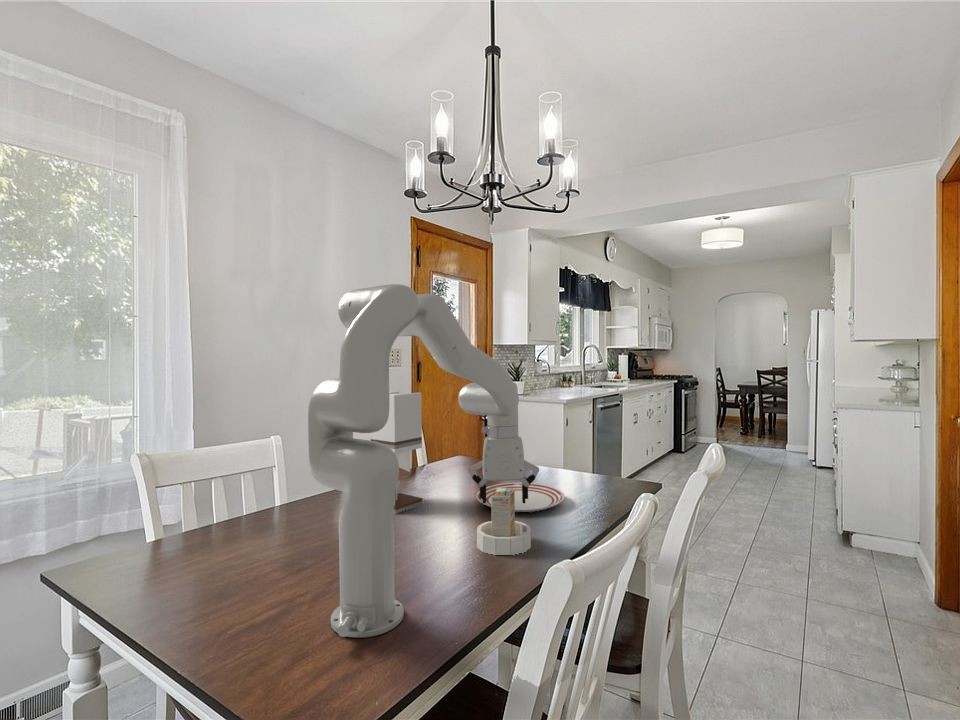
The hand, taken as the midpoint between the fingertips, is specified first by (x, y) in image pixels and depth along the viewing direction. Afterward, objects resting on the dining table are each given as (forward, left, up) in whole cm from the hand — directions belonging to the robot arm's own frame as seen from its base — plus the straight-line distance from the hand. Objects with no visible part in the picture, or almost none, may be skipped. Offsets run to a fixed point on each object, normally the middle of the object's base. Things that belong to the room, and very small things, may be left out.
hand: (504, 501), depth 123 cm
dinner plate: (+34, -4, -11) cm, 36 cm away
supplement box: (0, 0, -11) cm, 11 cm away
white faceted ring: (0, 0, -11) cm, 11 cm away
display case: (+30, +34, -11) cm, 46 cm away
